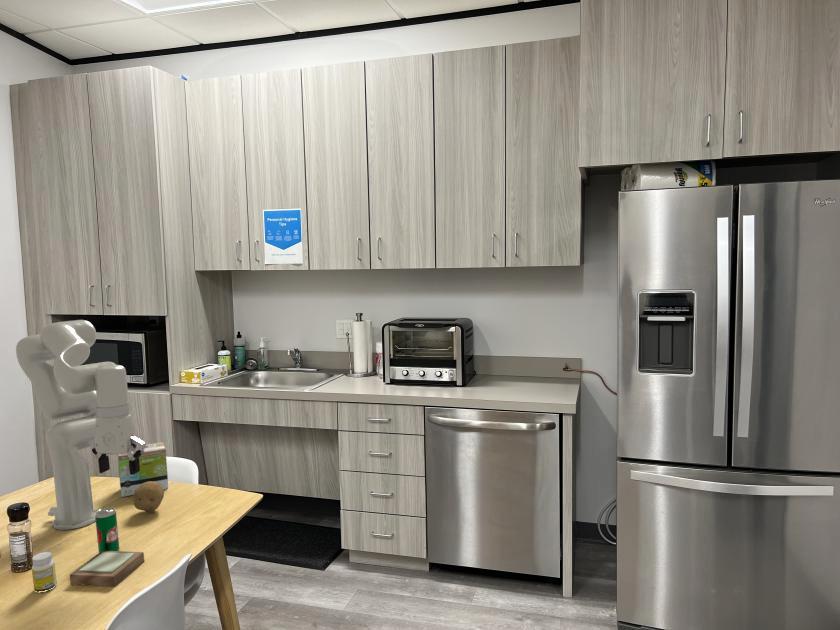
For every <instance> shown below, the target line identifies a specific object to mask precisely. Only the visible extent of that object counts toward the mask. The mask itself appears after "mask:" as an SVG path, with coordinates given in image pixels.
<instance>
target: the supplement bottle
mask: <svg viewBox="0 0 840 630" xmlns="http://www.w3.org/2000/svg"><path fill="white" fill-rule="evenodd" d="M55 567H56V563H55V560H53V555H52V552H50V551H43V552H39V553H37V554H35V555H33V556H32V567H31V573H32V575H31V576H32V582H33V591H34V590H35V591H37V592H39V591H45V590H49V589H51V588H53V587H54V586H56V587H57V585H58V582H57V574H56V573H57V572H56V568H55ZM56 584H57V585H56ZM35 591H34V592H35Z"/></svg>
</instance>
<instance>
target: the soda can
mask: <svg viewBox="0 0 840 630" xmlns="http://www.w3.org/2000/svg"><path fill="white" fill-rule="evenodd" d="M95 520H96V521H95V528H96V538H97V539H96V540H97V549H98V553H100V552H101V551H120V540H119V530H118V529H119V528H118V519H117V511H116V510H115V508H114V507H111V506H109V507H103V508H100V509H97V512H96V516H95Z"/></svg>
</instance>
